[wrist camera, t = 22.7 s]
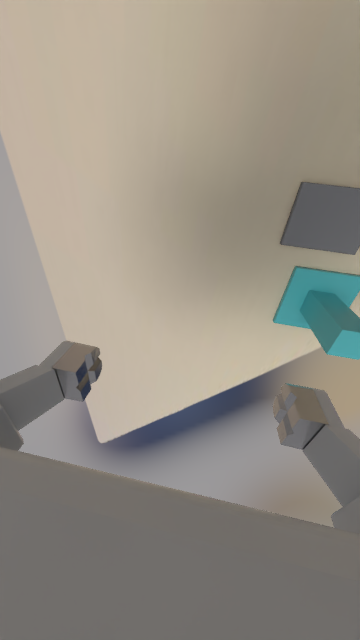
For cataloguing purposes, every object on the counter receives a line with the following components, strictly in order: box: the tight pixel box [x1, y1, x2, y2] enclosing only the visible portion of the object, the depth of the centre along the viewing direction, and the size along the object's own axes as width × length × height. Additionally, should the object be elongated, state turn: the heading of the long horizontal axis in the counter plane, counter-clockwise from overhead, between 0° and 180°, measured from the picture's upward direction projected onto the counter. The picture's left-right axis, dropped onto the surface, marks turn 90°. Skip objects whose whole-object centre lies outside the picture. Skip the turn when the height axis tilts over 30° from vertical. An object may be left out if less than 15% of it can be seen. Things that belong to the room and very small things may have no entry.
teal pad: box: [273, 266, 360, 329], centre depth 41 cm, size 12×12×1 cm
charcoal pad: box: [280, 182, 360, 255], centre depth 33 cm, size 9×12×1 cm
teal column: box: [300, 290, 360, 359], centre depth 35 cm, size 4×4×13 cm
